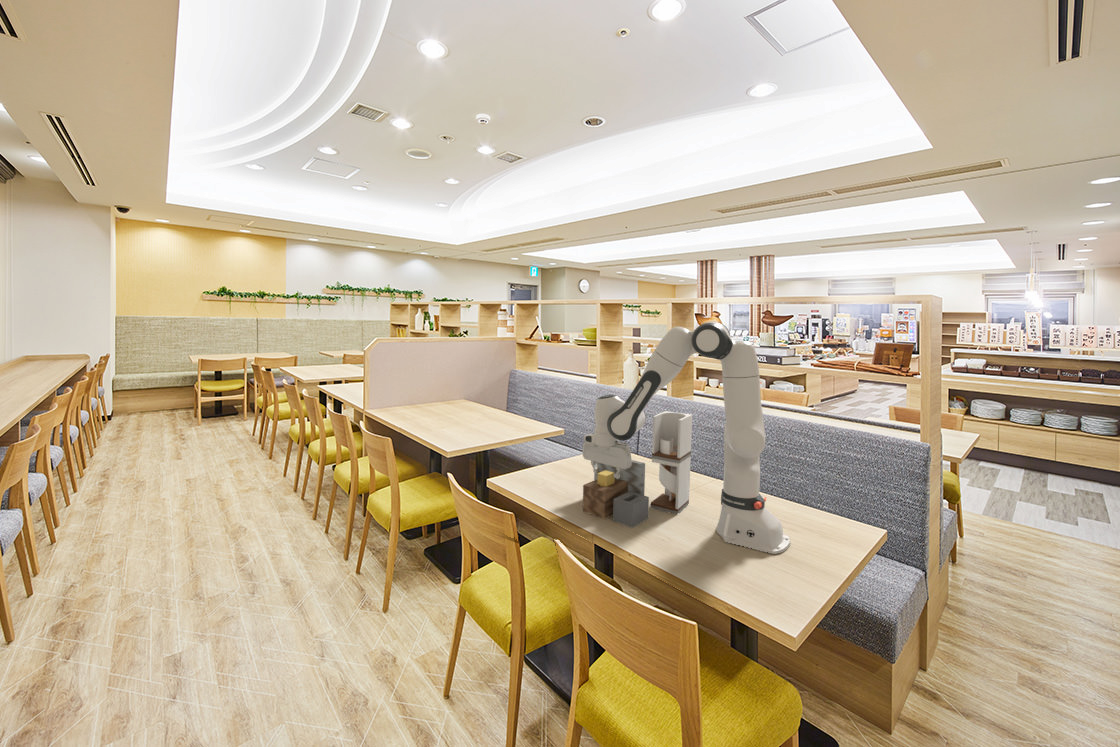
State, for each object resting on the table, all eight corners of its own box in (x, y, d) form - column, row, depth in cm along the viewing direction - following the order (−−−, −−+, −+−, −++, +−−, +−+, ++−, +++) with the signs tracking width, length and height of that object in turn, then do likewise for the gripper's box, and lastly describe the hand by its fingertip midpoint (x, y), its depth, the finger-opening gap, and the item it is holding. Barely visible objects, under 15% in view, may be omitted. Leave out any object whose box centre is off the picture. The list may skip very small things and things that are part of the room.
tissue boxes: (643, 510, 175) (645, 463, 173) (618, 524, 163) (619, 474, 161) (597, 494, 190) (597, 451, 188) (570, 506, 178) (571, 460, 176)
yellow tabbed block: (614, 493, 176) (614, 472, 175) (605, 497, 172) (606, 475, 171) (605, 490, 178) (605, 470, 177) (597, 494, 175) (597, 473, 174)
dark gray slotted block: (648, 518, 168) (648, 496, 167) (632, 527, 161) (632, 505, 160) (629, 512, 173) (629, 491, 172) (613, 520, 166) (613, 498, 165)
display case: (662, 498, 187) (665, 411, 182) (688, 504, 181) (692, 414, 176) (650, 507, 177) (653, 416, 173) (677, 514, 171) (681, 420, 167)
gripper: (635, 442, 168) (634, 479, 170) (590, 432, 182) (590, 467, 183) (625, 445, 163) (624, 484, 165) (580, 435, 177) (580, 471, 179)
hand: (606, 475), depth 174 cm, fingers open, 8 cm apart
